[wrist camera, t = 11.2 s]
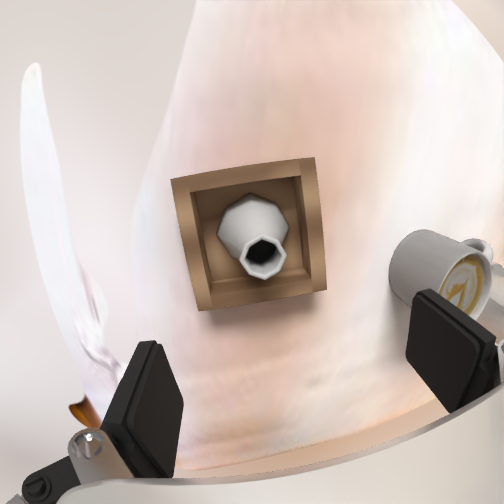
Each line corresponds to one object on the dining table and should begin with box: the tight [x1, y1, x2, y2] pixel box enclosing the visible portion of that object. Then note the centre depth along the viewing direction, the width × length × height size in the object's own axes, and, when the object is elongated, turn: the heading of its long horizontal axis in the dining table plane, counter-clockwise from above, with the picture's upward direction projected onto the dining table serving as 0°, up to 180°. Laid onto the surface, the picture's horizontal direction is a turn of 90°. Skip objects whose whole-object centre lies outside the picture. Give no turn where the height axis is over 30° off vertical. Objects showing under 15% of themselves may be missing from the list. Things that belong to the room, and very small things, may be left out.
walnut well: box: [170, 157, 327, 311], centre depth 29 cm, size 13×13×4 cm
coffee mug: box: [389, 230, 493, 321], centre depth 29 cm, size 13×10×10 cm
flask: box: [216, 192, 290, 280], centre depth 25 cm, size 7×7×10 cm
